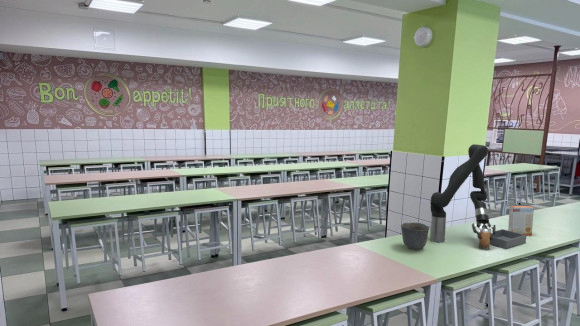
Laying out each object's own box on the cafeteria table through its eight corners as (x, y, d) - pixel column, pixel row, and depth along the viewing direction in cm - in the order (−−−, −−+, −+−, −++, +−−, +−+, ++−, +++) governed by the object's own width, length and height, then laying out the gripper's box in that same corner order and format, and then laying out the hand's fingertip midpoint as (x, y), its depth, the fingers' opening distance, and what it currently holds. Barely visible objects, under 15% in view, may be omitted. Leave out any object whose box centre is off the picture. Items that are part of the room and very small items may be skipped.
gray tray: (505, 249, 229) (506, 241, 228) (481, 242, 242) (482, 234, 242) (525, 243, 241) (526, 235, 240) (501, 236, 255) (502, 229, 254)
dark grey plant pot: (431, 254, 219) (432, 230, 218) (401, 252, 223) (402, 229, 221) (426, 244, 237) (427, 222, 235) (398, 243, 240) (399, 221, 238)
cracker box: (527, 233, 262) (529, 205, 259) (532, 236, 256) (534, 207, 253) (507, 232, 263) (509, 205, 261) (511, 235, 257) (513, 207, 255)
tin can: (480, 249, 228) (481, 230, 227) (477, 246, 234) (479, 227, 232) (490, 250, 227) (492, 230, 225) (488, 247, 232) (489, 228, 231)
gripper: (471, 212, 237) (474, 235, 227) (495, 214, 233) (499, 237, 223) (469, 218, 243) (472, 240, 232) (492, 220, 239) (496, 242, 229)
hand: (485, 239), depth 228 cm, fingers closed on tin can, 6 cm apart
